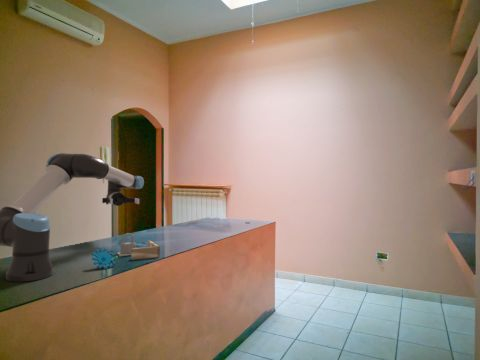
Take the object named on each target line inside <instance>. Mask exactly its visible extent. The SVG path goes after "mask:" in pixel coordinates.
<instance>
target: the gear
mask: <svg viewBox="0 0 480 360" xmlns="http://www.w3.org/2000/svg"><path fill="white" fill-rule="evenodd" d="M109 252H110V249H108V248H107V249H106V250H105V248H103V247H102V248H100V249H99V248H97V249H96V250H95V251H94V252H93V253H92V255H91V256H92V257H91V261H93V265H94V266H97V265H98V266H97V268H98V269H102V267H103V269H104V270H107V269H108V268H109V269H111V268H112V267H113V265H115V263H116V260H117V259H118V258H119V255H115V254H114V252H113V251H111V252H110V253H109ZM114 255H115V256H114Z"/></svg>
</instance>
